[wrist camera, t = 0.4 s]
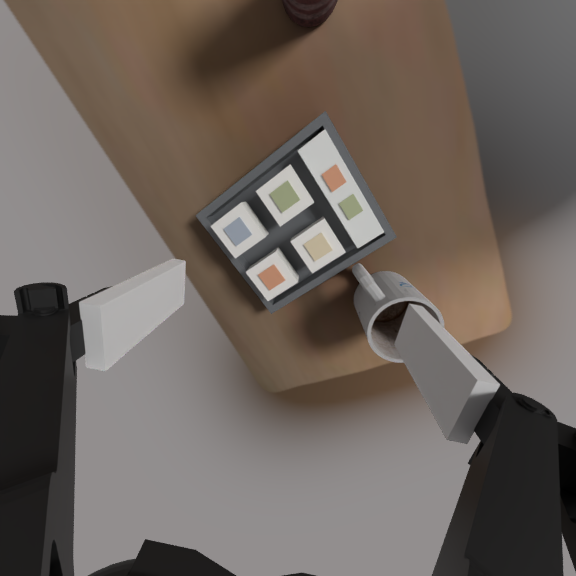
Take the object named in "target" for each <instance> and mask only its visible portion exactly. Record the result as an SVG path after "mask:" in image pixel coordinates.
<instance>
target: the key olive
mask: <svg viewBox="0 0 576 576" xmlns="http://www.w3.org/2000/svg"><path fill="white" fill-rule="evenodd" d="M256 193H257V194H258V195H259V197H260V198H261V200H262V201H263V203H264V204H265V206H266V207H267V209H268V210H269V211H270V213H271V214H272V216H273V217H274V219H275V220H276V222H277V223H278V225H279V226H280V227H281V226H282V225H283V224H285V223H286V222H288V221H289V220H290V219H292V218H293V217H295V216H296V215H297V214H299V213H300V212H302V211H303V210H305V209H306V208H307V207H309V206H310V205H312V204H313V203H314V201H313V199H312V198H311V196H310V194H309V193H308V191H307V190H306V188H305V186H304V185H303V183H302V182H301V180H300V179H299V177H298V175H297V174H296V172H295V171H294V169H293V167H292V166H291V165H289V166H288V167H286V168H285V169H284V170H282V171H281V172H280V173H279V174H277V175H276V176H275V177H273V178H272V179H271V180H269V181H268V182H267V183H266V184H264V185H263V186H262V187H260V188H259V189H258V190H257V191H256Z"/></svg>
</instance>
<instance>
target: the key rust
mask: <svg viewBox="0 0 576 576" xmlns="http://www.w3.org/2000/svg"><path fill="white" fill-rule="evenodd" d="M246 274H247V275H248V276H249V277H250V279H251V280H252V281H253V283H254V284H255V285H256V287H257V288H258V289H259V291H260V292H261V293H262V294H263V296H264V297H265V298H266V300H267V301H269V300H271V299H273V298H274V297H276V296H277V295H279V294H281V293H282V292H284V291H285V290H287V289H288V288H290V287H292V286H293V285H295V284H296V283H298V279H299V275H298V274H297V272H296V271H295V270H294V268H293V267H292V265H291V264H290V263H289V261H288V260H287V258H286V257H285V255H284V254H283V253H282V251H281V250H280V248H279V247H278V248H276V249H275V250H273V251H272V252H270V253H269V254H267V255H266V256H264V257H263V258H262V259H260V260H259V261H257V262H256V263H254V264H253V265H251V266H250V267H249V268H248V270H247V271H246Z"/></svg>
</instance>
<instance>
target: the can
mask: <svg viewBox="0 0 576 576" xmlns="http://www.w3.org/2000/svg"><path fill="white" fill-rule="evenodd" d="M282 2H283V5H284V7H285V10H286V13H287V14H288V15H289V17H290V18H291V19H292V21H294V22H295V23H297V24H298V25H300V26H305V27H312V26H317V25H319V24H320V23H322V22H324V21H325V20H326V19H327V18H328V17H329V15H330V14H331V13H332V12H333V9H334V7H335V5H336V3H337V0H282Z"/></svg>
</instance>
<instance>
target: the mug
mask: <svg viewBox="0 0 576 576" xmlns="http://www.w3.org/2000/svg"><path fill="white" fill-rule="evenodd" d="M352 272H353V274H354V276H355V277H356V279H357V280H358V281H359V283H360V284H359V285H358V287H357V289H356V291H355V294H354V306H355V308H356V311H357V314H358V316H359V319H360V321H361V324H362V326H363V329H364V331H365V334H366V336H367V339H368V341H369V344H370V346H371V348H372V349H373V351H374V352H375V353H376V354H377V355H379V356H380V357H382V358H384V359H386V360H389V361H392V362H402V363H403V362H404V361H403V360H402V358H401V356H400V354H399V352H398V351H397V349H396V347H395V345H394V344H395V341H396V338H397V335H398V333H399V330H400V327H401V324H402V322H403V319H404V316H405V313H406V310H407V308H408V305H409V304H414V305H419V306H423V307H424V308H425V309H426V310H427V311H428V312H429V313H430V314H431V315H432V316H433V317H434V318H435V319H436V320H437V321H438V322H439V323H440V324H441V325H442V327H443V328H444V320H443V317H442V315H441V313H440V311H439V310H438V309H437V308H436V307H435V306H434V305H433V304H432V303H431V302H430V301H429V300H428V299H427V298H426V297H425V296H424V295H422V294H421V293H420V292H419V291H418V290H417V289H416V288H415V287H414V286H413V285H412V284H411V283H409V282H408V281H407V280H406V279H405V278H404V277H403V276H401V275H400V274H397V273H395V272H390V271H381V272H376V273H374V274H371V275H370V274H369V273H368V272H367V270H366V269H365V268H364V267H363V265H362V264H359V263H358V264H356V265H354V266H353V268H352Z"/></svg>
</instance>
